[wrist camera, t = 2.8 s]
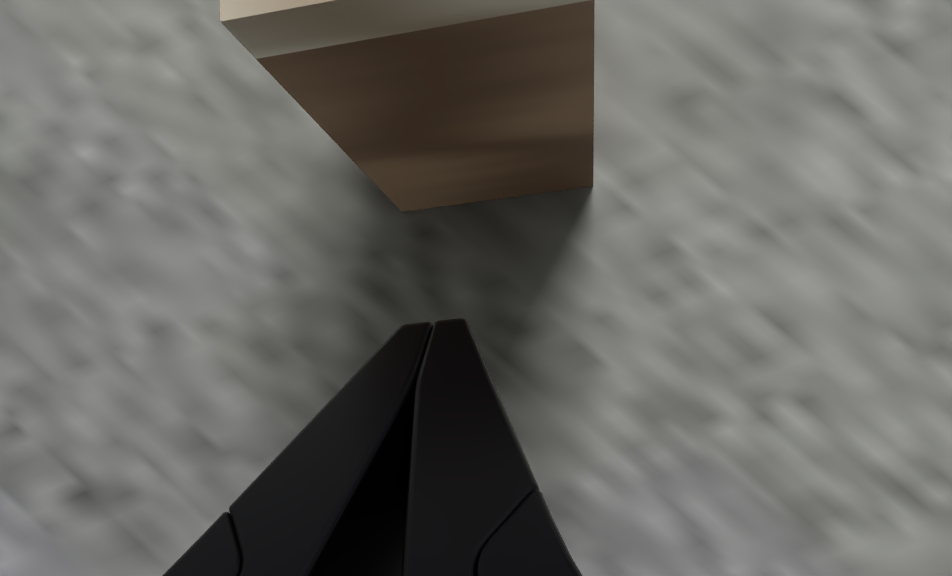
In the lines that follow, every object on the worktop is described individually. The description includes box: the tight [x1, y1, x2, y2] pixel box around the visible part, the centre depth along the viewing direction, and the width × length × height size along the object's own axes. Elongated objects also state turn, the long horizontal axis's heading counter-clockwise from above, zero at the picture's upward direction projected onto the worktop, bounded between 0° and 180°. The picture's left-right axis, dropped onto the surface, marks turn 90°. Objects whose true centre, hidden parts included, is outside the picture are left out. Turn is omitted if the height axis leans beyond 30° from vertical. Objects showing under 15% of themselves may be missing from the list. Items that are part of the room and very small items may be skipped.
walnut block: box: [220, 0, 594, 212], centre depth 14 cm, size 5×5×9 cm
